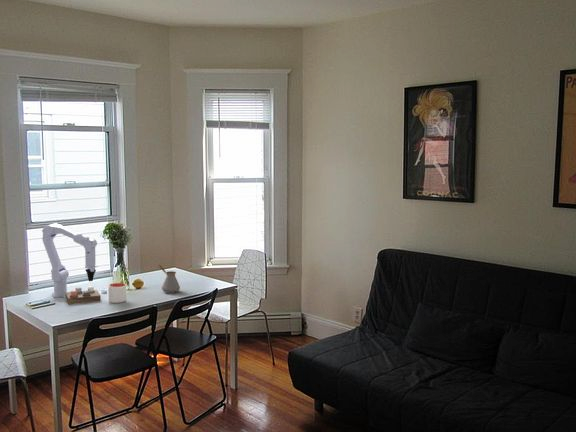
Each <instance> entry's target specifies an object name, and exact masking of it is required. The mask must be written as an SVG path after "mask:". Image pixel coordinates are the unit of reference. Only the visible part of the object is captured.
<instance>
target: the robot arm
mask: <svg viewBox="0 0 576 432" xmlns="http://www.w3.org/2000/svg"><path fill="white" fill-rule="evenodd" d="M41 232H42V243H43V245H44V248H45V251H46V254H47V257H48V259H49V262H50V265H51V267H52V268H51V271H50V273H51V279H52V281H53V292H52V295H53V297H54V298H61V297H62V298H63V297H65V293H66V292H68V289H67V287H68V286H67V283H68V282H67V279H68V278H69V273H70V272H69V271H68V270H67V269H66V267H65V265H64V264H62V262H61V259H60V257H59V254H58V250H57V248H56V245H55V243H54V239H55V238H56V236H57V235H58V234H59V235H60V234H61V235H63V236H66V237H68V238H70V239H72V240H73V242H74V243H76V244H79V245H80V246H82V247H83V248H84V251H85V254H84V255H85V257H84V258H85V259H84V260H85V265H84V268H86V269H84V270H85V272H86V275H87V280H88V282H93V280H94V277H95V274H96V271H97V270H96V268H98V265H96V247H97V245H98V241H97V240H96V239H95V238H93V237H92V238H91V237H89V236H86V235H84V234H83V233H82V232H77V233H75V232H73V231H72V230H70V229H68V228H66V227H64V225H62V224H59V223H58V222H55V223H54V222H53V223H52V224H46V225H45V226H44V227H43V228H42V230H41Z"/></svg>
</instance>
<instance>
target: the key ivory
mask: <svg viewBox="0 0 576 432" xmlns="http://www.w3.org/2000/svg"><path fill="white" fill-rule="evenodd" d="M94 287H95V286H93V285H89V286H87V291H89V293H94V290H95V289H94Z"/></svg>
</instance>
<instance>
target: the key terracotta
mask: <svg viewBox="0 0 576 432" xmlns="http://www.w3.org/2000/svg"><path fill="white" fill-rule="evenodd" d="M70 292H71V298H73V297H77V291H75V290H71V291H70Z"/></svg>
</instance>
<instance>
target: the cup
mask: <svg viewBox="0 0 576 432" xmlns="http://www.w3.org/2000/svg"><path fill="white" fill-rule="evenodd" d="M126 300H127V284H126V283H123V282H114V283H109V284H108V302H110V303H111V304H112V303H113V304H119V303H120V304H121V303H124V302H126Z"/></svg>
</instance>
